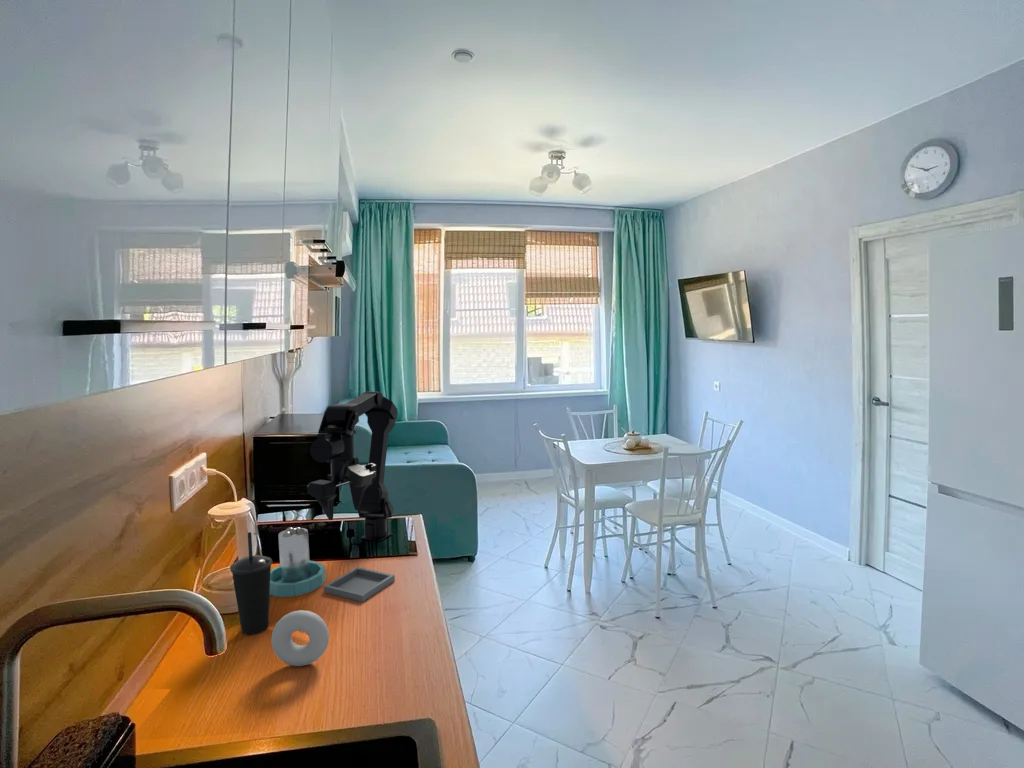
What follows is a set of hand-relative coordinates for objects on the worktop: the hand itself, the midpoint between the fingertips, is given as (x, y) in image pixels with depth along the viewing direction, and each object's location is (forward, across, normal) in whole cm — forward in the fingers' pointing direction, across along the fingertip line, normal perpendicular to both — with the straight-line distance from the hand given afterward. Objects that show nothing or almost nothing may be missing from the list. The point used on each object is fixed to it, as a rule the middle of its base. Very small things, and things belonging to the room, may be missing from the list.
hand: (344, 514), depth 141 cm
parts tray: (+13, -9, -13) cm, 21 cm away
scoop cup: (+12, -14, +2) cm, 19 cm away
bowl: (+13, -14, +2) cm, 20 cm away
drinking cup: (+14, -31, -6) cm, 35 cm away
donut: (+14, -36, -24) cm, 45 cm away
